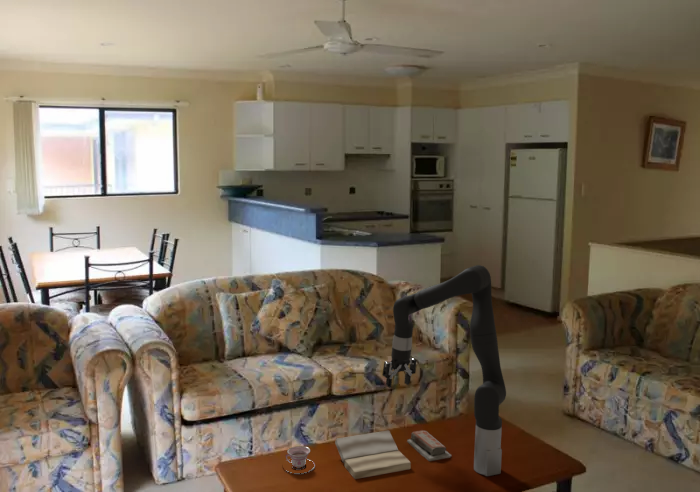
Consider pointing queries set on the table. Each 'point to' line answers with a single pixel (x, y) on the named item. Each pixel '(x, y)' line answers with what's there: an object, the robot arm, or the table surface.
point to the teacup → (298, 457)
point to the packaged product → (428, 446)
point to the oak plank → (377, 464)
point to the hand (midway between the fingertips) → (397, 385)
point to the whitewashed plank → (365, 445)
